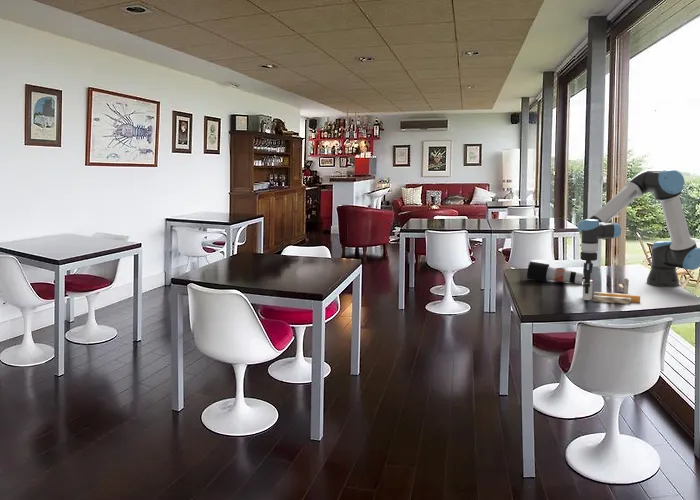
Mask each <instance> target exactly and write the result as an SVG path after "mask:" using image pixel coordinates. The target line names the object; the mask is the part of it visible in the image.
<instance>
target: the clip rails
mask: <svg viewBox="0 0 700 500" xmlns="http://www.w3.org/2000/svg"><path fill="white" fill-rule="evenodd" d="M603 294H618V295H631V294H629V293H628V294H624V293H619V292H618V293H617V292H604V291H603V292H600V291H593V302H599V303H601V302H602V303H611V304H612V303H613V304H626V305H631V304H632V302H631V298H624V297H610V296H603Z"/></svg>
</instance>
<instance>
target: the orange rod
mask: <svg viewBox="0 0 700 500" xmlns="http://www.w3.org/2000/svg"><path fill="white" fill-rule="evenodd" d="M603 296H610V297H624V298H631V303H639V304H640V303H641V295H631V294H630V295H618V294H603Z"/></svg>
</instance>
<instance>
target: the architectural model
mask: <svg viewBox="0 0 700 500" xmlns="http://www.w3.org/2000/svg"><path fill="white" fill-rule="evenodd" d="M629 281H630V280H629V279H628V277H626V278H623V282H622V283H618V286H619V287H620V288H622V290H623V294H629V286H630V284H629Z"/></svg>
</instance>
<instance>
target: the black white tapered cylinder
mask: <svg viewBox="0 0 700 500" xmlns="http://www.w3.org/2000/svg"><path fill="white" fill-rule="evenodd" d="M526 279H527V280H532V281H536V282H537V281H538V282H544V283H547V281H554V282H559V283H560V282H561V283H569V284H578V285H583V280H584V279H585V273H584V272H576V271H572V270H568V269H567V270H566V269H564V268H558V267H553V266H550V264H549V263H543V262H537V261H536V262H535V261H529V263H528V268H527V272H526ZM591 280H592V284H593V283H594V278H592V277H591Z"/></svg>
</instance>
